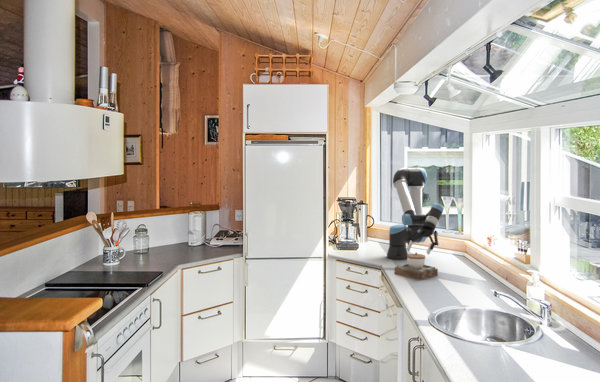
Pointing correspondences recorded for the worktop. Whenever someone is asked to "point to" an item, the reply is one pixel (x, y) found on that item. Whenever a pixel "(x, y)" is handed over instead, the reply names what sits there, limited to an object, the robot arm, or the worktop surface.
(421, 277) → the tray
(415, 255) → the lidded jar
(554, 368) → the worktop surface
